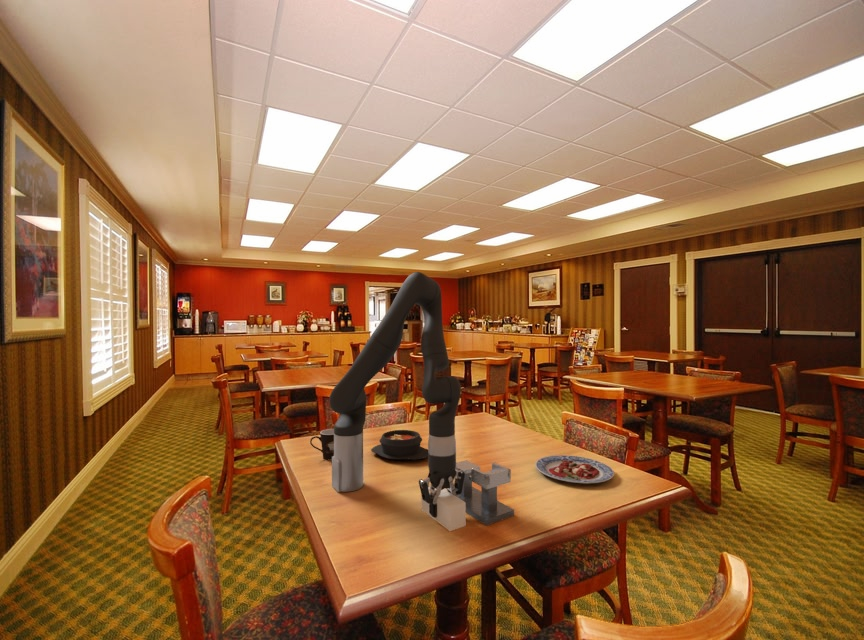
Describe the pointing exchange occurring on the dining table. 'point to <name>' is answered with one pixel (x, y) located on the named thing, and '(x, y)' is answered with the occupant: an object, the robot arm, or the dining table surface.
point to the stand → (484, 492)
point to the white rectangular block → (448, 510)
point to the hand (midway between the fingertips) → (442, 513)
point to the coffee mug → (326, 443)
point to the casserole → (401, 445)
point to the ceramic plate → (574, 469)
